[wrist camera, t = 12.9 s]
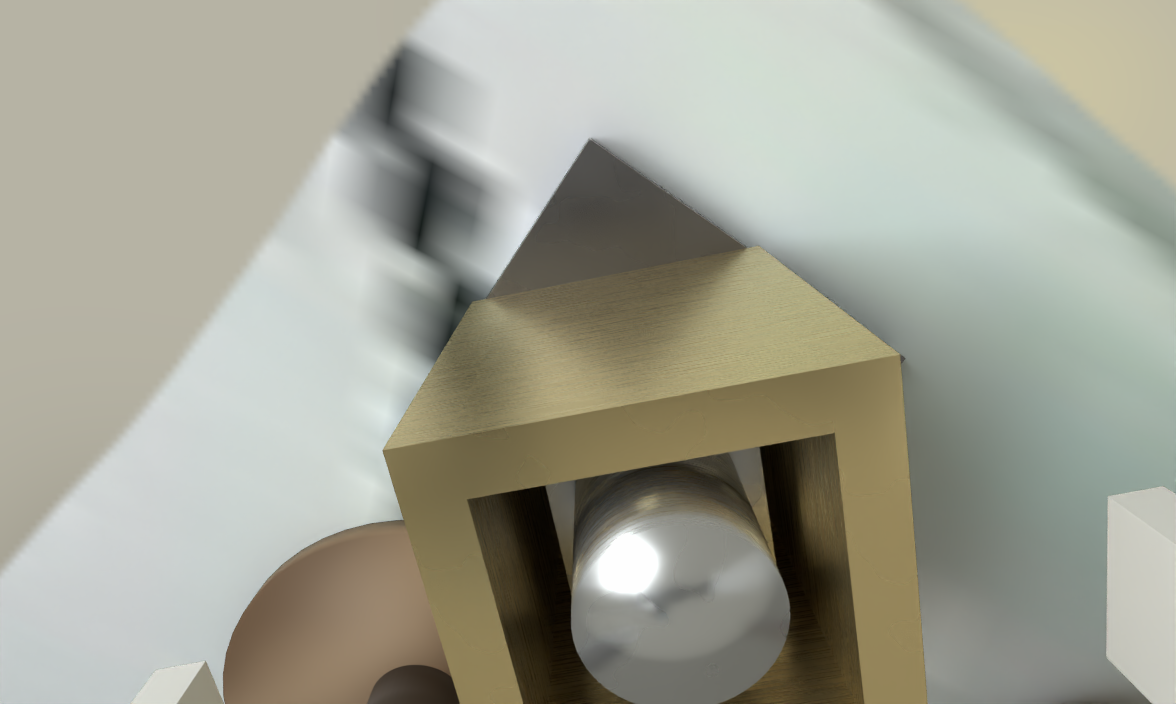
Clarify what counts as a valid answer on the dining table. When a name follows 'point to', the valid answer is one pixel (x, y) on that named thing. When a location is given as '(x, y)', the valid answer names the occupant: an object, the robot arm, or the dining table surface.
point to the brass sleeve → (658, 436)
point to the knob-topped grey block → (655, 481)
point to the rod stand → (341, 628)
